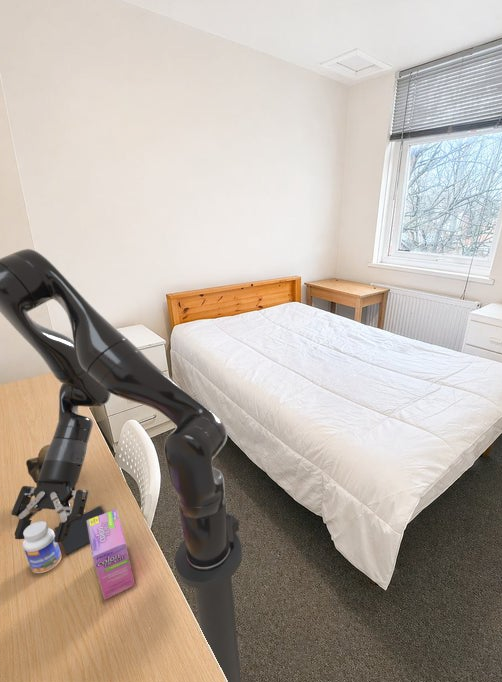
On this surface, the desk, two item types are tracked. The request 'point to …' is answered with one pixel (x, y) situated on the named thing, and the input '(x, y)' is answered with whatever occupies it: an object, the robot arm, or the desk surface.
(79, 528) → the pad
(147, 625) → the desk surface
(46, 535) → the pill bottle
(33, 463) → the sculpture
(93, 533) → the box
